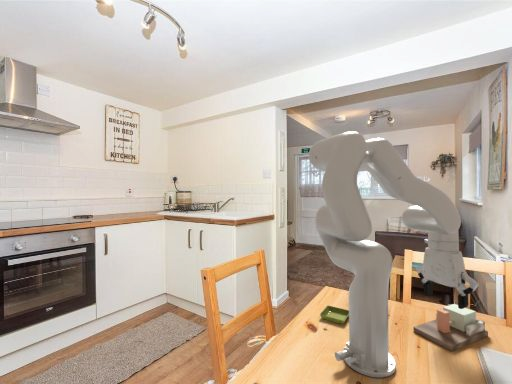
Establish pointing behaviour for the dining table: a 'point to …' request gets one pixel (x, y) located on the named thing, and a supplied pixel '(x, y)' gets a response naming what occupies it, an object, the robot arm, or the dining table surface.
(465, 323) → the joined block piece
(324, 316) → the green tray
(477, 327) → the shelf
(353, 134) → the robot arm
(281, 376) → the dining table surface
